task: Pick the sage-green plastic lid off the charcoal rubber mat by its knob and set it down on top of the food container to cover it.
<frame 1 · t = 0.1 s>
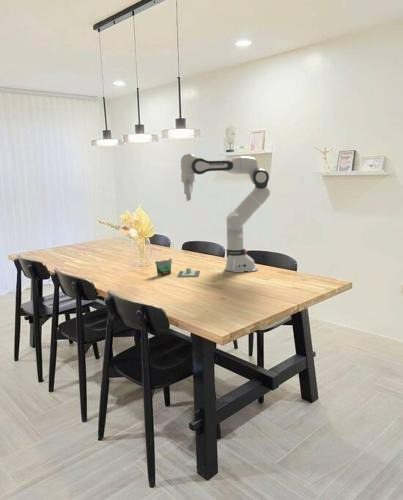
hand: (188, 200, 265), 48 cm above the table, tool pointing down, fingers open, 8 cm apart
lid: (188, 271, 261), on the mat
mat: (188, 274, 261), on the table
food container: (166, 275, 262), on the table
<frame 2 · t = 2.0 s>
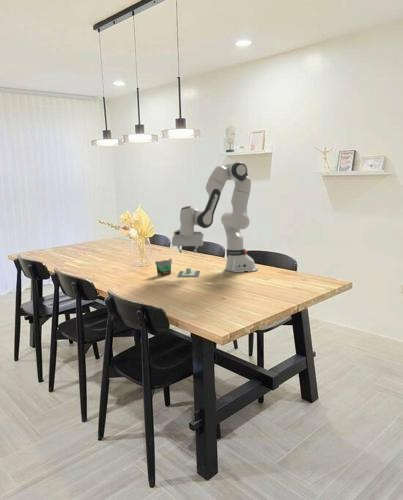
hand: (187, 252, 258), 15 cm above the table, tool pointing down, fingers open, 8 cm apart
nothing on the table moved.
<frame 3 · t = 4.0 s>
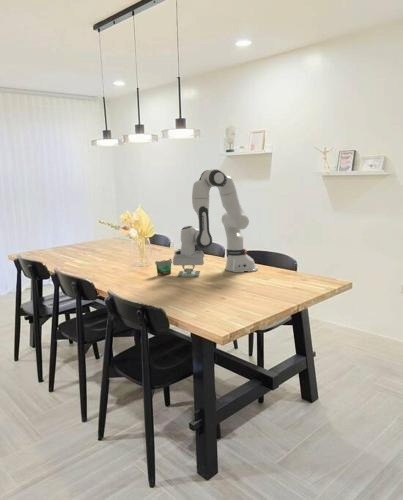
hand: (188, 271, 261), 2 cm above the table, tool pointing down, fingers closed on lid, 3 cm apart
lid: (188, 271, 261), on the mat, touching gripper
everything else where it was.
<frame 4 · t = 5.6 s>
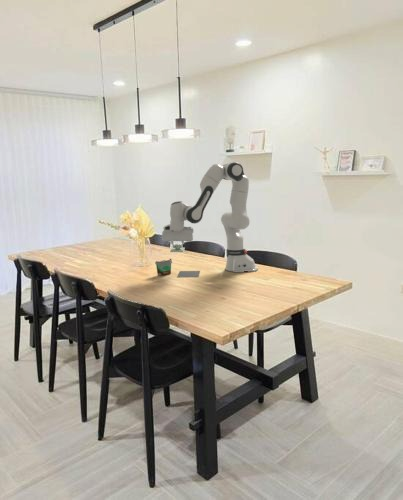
hand: (177, 247, 258), 18 cm above the table, tool pointing down, fingers closed on lid, 3 cm apart
lid: (177, 247, 258), point 18 cm above the table, touching gripper
everything else where it was.
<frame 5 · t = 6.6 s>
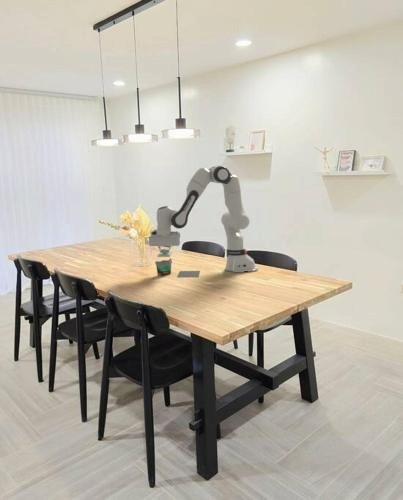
hand: (164, 252, 259), 15 cm above the table, tool pointing down, fingers closed on lid, 3 cm apart
lid: (164, 252, 259), point 16 cm above the table, touching gripper
everything else where it was.
when the fingers open (13 cm above the table, at t = 7.2 s): lid drops 1 cm, resting on food container.
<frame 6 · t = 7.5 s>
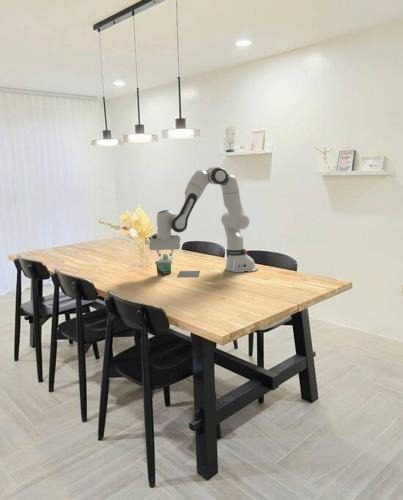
hand: (165, 256, 259), 13 cm above the table, tool pointing down, fingers open, 6 cm apart
lid: (165, 257, 259), point 12 cm above the table, touching food container
food container: (166, 275, 262), on the table, touching lid
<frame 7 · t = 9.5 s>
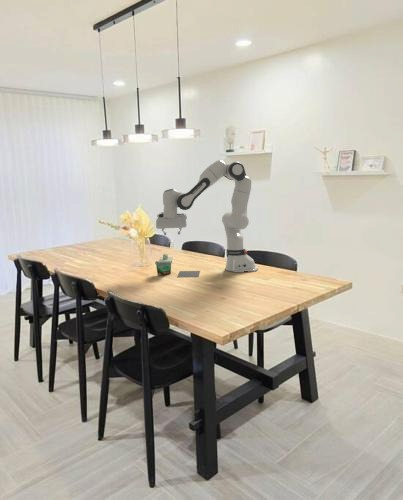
hand: (172, 234, 263), 26 cm above the table, tool pointing down, fingers open, 8 cm apart
nothing on the table moved.
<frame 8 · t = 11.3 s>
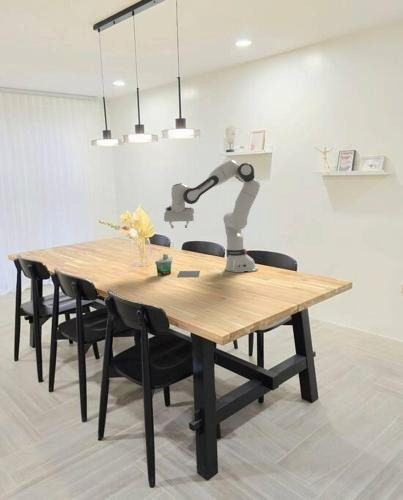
hand: (179, 227, 271), 29 cm above the table, tool pointing down, fingers open, 8 cm apart
nothing on the table moved.
at the end: lid inside the target area on the food container (0.1 cm from its centre), point 12.1 cm above the food container's base; lid touching food container; food container tilted 0° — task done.
